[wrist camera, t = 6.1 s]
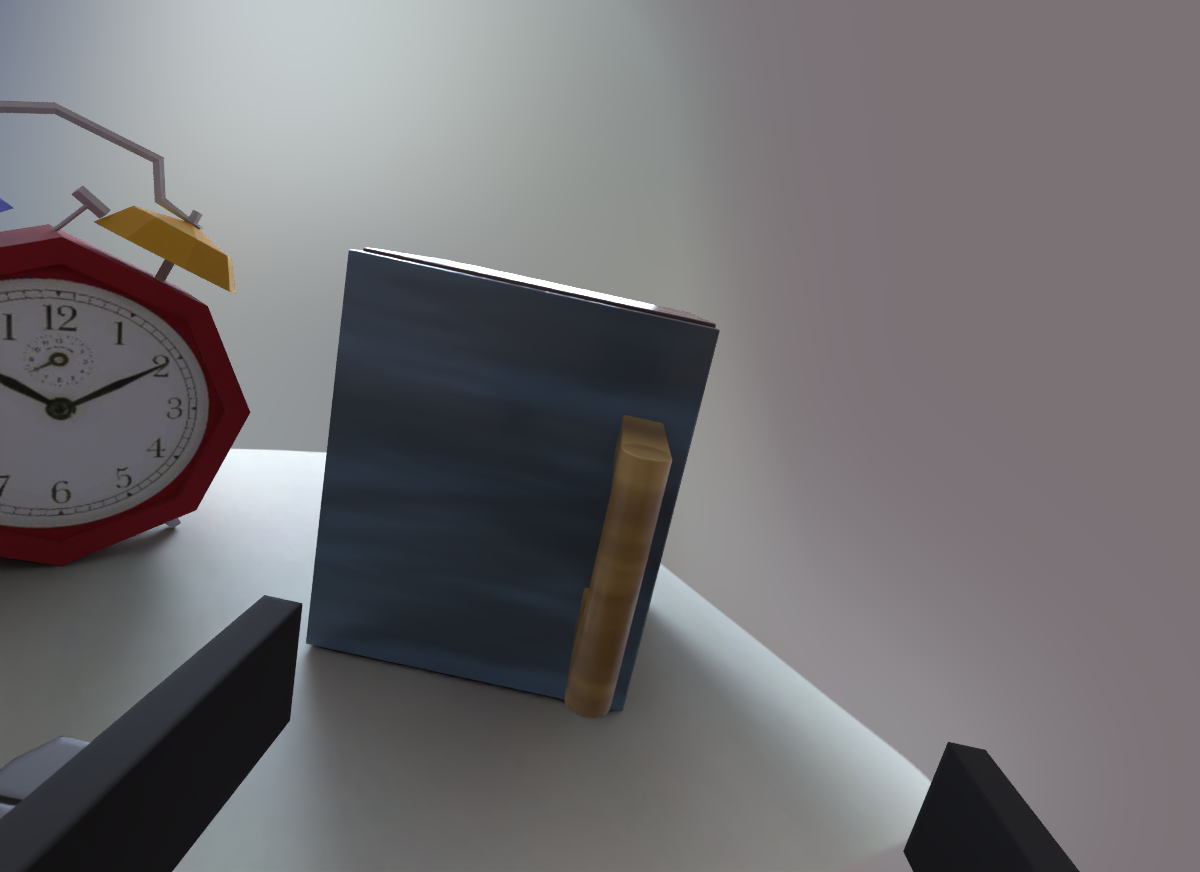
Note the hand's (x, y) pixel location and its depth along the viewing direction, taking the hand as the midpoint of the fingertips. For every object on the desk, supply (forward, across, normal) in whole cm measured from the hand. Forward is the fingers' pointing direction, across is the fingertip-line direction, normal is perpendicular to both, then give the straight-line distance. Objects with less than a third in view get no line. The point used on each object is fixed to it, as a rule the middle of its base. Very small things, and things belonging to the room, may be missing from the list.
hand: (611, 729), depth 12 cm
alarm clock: (+18, -27, -9) cm, 34 cm away
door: (+10, -5, -9) cm, 14 cm away
